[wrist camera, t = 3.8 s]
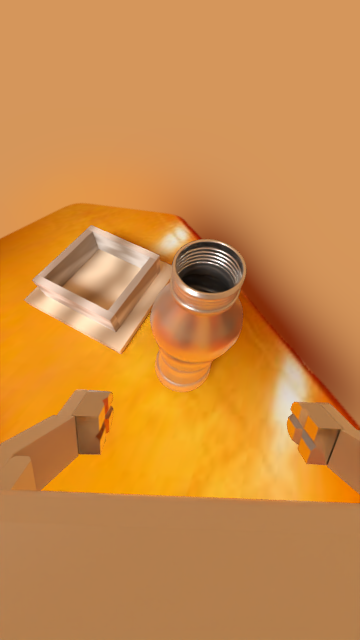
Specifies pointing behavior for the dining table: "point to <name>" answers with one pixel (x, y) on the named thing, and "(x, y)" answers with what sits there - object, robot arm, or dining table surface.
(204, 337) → the plastic bottle
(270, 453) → the dining table surface
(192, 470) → the dining table surface
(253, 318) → the dining table surface
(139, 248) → the bottle holder
